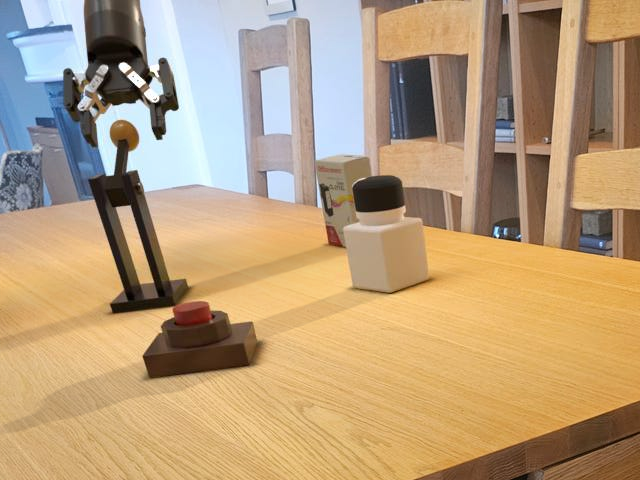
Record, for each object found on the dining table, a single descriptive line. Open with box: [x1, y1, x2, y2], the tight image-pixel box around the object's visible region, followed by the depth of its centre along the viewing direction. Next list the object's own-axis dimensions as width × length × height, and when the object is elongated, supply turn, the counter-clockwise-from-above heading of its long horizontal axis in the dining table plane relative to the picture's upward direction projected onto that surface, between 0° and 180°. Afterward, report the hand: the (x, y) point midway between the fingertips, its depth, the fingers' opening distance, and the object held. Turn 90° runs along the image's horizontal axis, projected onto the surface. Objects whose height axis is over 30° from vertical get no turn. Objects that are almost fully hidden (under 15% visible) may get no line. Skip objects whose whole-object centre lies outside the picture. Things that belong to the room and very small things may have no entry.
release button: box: [171, 300, 213, 326], centre depth 83 cm, size 4×4×2 cm
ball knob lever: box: [104, 119, 140, 208], centre depth 106 cm, size 15×4×4 cm, turn 7°
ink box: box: [313, 153, 373, 248], centre depth 126 cm, size 9×5×12 cm, turn 40°
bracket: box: [87, 169, 189, 314], centre depth 106 cm, size 10×8×15 cm
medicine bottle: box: [343, 174, 430, 294], centre depth 102 cm, size 7×7×12 cm
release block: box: [141, 309, 258, 379], centre depth 85 cm, size 10×8×4 cm
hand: (124, 139), depth 109 cm, fingers open, 8 cm apart
